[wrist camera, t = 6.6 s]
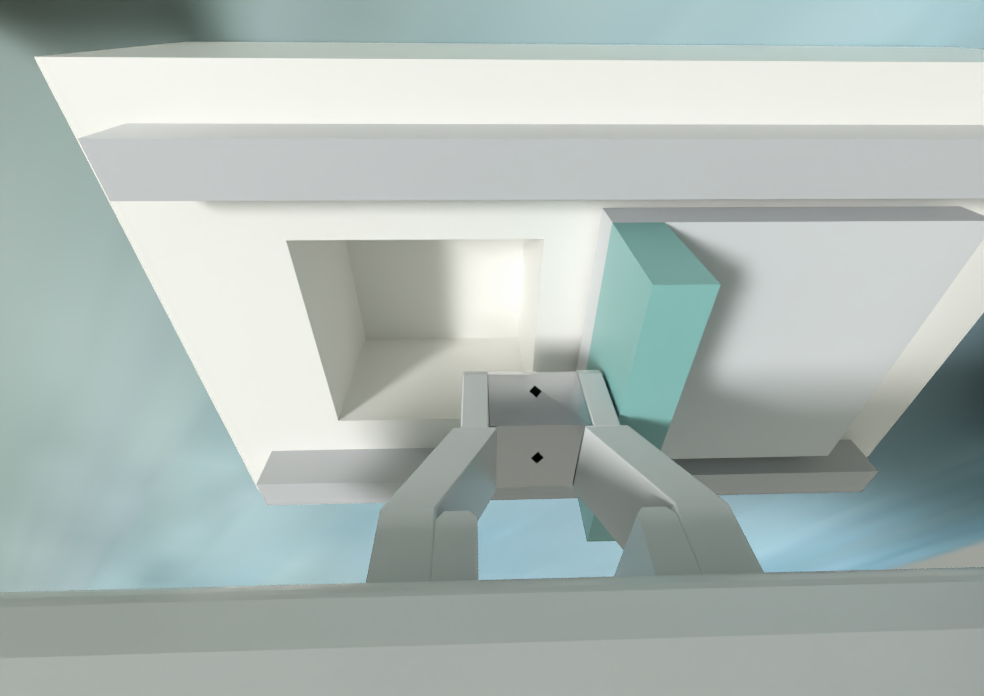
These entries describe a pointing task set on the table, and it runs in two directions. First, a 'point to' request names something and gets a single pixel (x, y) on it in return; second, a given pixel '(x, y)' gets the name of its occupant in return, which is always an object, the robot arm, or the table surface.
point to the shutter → (760, 319)
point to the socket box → (484, 217)
